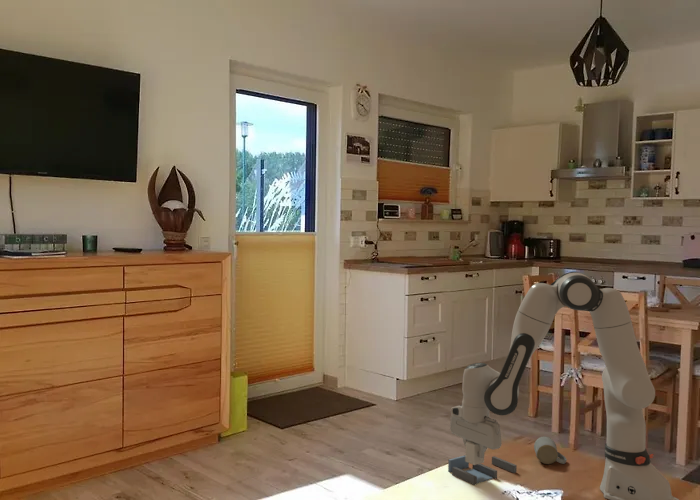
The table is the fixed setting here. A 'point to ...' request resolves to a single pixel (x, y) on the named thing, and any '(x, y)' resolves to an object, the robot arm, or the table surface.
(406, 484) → the table surface
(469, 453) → the cord plug
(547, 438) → the ceramic mug
